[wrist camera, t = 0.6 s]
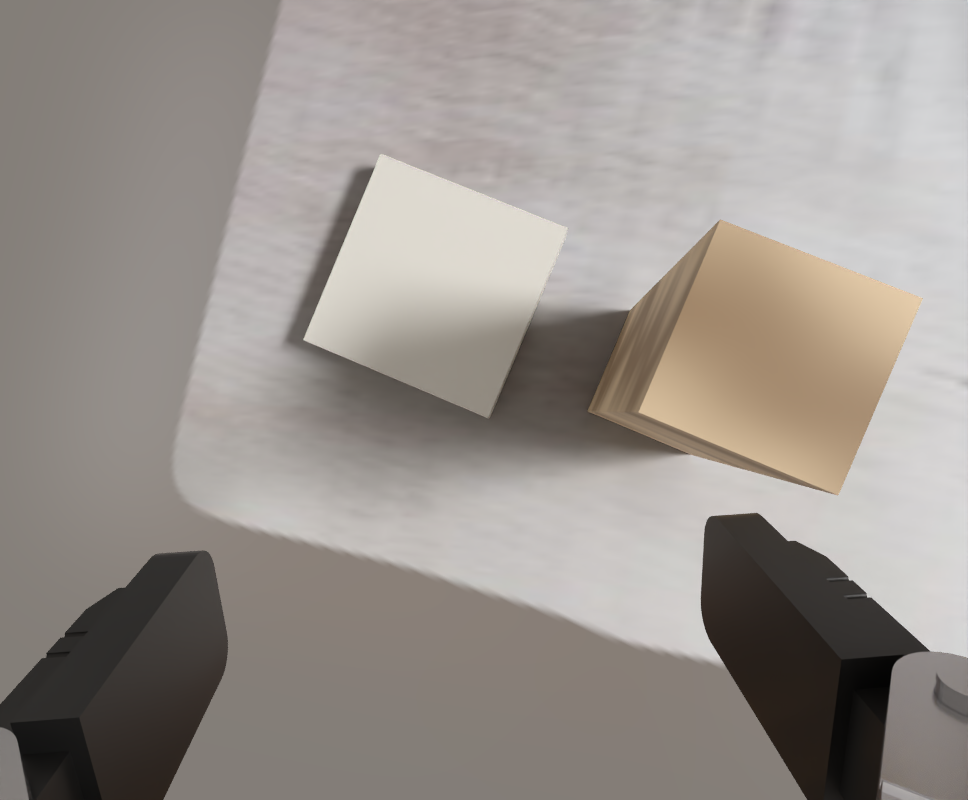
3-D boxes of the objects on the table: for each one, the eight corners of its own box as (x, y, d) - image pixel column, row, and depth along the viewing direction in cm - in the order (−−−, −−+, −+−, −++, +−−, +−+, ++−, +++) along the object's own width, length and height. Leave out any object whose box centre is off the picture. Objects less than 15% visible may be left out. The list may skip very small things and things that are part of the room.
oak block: (630, 310, 29) (720, 219, 15) (734, 352, 29) (922, 298, 15) (587, 411, 29) (638, 412, 16) (690, 454, 29) (838, 495, 15)
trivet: (388, 166, 30) (380, 153, 29) (566, 237, 30) (567, 228, 28) (314, 343, 30) (303, 340, 29) (490, 418, 30) (487, 418, 28)
